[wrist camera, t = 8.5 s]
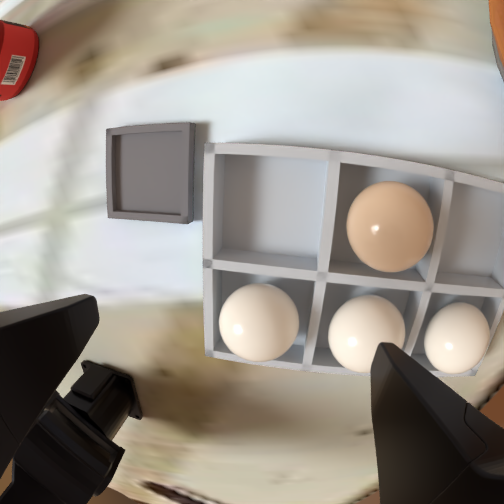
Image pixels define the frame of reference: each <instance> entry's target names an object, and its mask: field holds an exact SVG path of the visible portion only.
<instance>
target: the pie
mask: <svg viewBox="0 0 504 504" xmlns="http://www.w3.org/2000/svg"><path fill="white" fill-rule="evenodd" d="M489 12H490V24H491V27H492V45H493V49H494V53H495V58H496V62H497V66H498V69H499V71H500V74H501V76H502V79H503V81H504V0H489Z"/></svg>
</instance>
